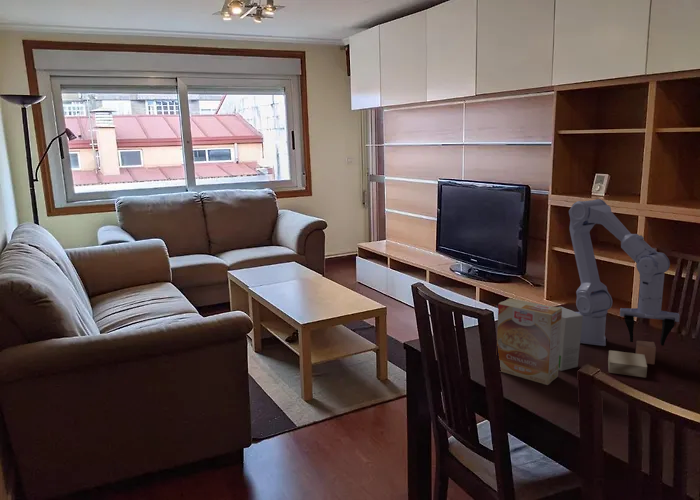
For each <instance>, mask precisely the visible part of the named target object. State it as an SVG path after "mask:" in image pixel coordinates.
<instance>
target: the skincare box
mask: <svg viewBox="0 0 700 500" xmlns="http://www.w3.org/2000/svg"><path fill="white" fill-rule="evenodd" d="M556 307H557V308H562V317H561V334H560V351H559V368H558V371H561V372H563V371H565V370H566V371H567V370H570V369H574V368H578V367H579V356H580V347H581V343H580V339H581V329H582V320H583V315H581V314H578V313H576V312H577V311H574V310H571V309H568V308H565V307H564V306H556Z"/></svg>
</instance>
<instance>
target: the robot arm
mask: <svg viewBox="0 0 700 500" xmlns="http://www.w3.org/2000/svg"><path fill="white" fill-rule="evenodd" d="M568 215H569V220H570V221H569V227H568V228H569V233H570V234H569V235H570V238H571V239H570V240H571V244H572V249H573V253H574V257H575V258H574V259H575V262H576V267H577V272H578V275H579V280H580V286H579V287H577V290H576V291H575V294H576V301H575V305H576V309H577V311H575V312H576V313H578V314H581V315H583V320H582V329H581V339H580V344H584V345H591V346H592V345H593V346H599V347H600V346H601V347H605V346H607V340H606V335H605V333H606V321H607V314H608V311H609V310H610V309H611V308H612V306H613V298H612V295H611V294H610V292H609V291H608V287H607V285H606V284H604V283H603V282H601V280H600V279H601V278H600V275H599V270H598V265H597V261H596V256H595V252H594V247H593V243H592V239H591V234H590V232H591V230H592V229H593V228H594V226H595V225H602V227H604V228H605V229H606V230H607V231H608V232H609V233H610V234H612V235H613V236H614V237H615V238H616V239H617V240H619V241H620V248H621V249H622V251H624V252H625V253H626V254H627V256H628V257H630V259H631V260H632V261H633V262H634V263H635V264H636V265H635V266H636V270H637V271H638V274H639V292H638V303H637V305H638V306H637V308H628V307H627V308H626V307H625V308H622V307H620V309H619V317H623V319H624V323H625V324H626V326H627V327H626V328H627V330H628V334H629V342H630V343H634V327H635V318H642V319H649V320H651V319H652V320H661V321H662V322H661V324H662V326H661V333H660V335H661V336H660V340H659V341H660V343H659V344H660V346H665V342H666V340H667V337H668V335H670V332H671V331H672V330H673V328H674V327H675V324H676V322H677V323H679V322H680V313H679V312H672V311H671V312H670V311H666V310H662V305H663V304H662V303H663V292H664V283H665V273H666V272H668V271H669V270H670V268H671V267H670V266H671V262H670V259H669V258H668V256H667V255H666V254H665V253H664V252H661V251H660V252H658V251H657V249H655V248H653V247H651V245H649V243H647V241H645V237H644V236H643V235H639V234H638V233H631V232H630V230H628V229H627V227H626V226H625V225H624V224H623V223H622V222H621V221H620V219H619V218H618V217H617V216H616V215H615V214H614V213H613V212H612V206H610V205H608V204H607V203H606V202H605V200H603V199H601V198H600V199H599V198H598V199H591V200H584V201H583V200H578V201H576V202H574V203H573V204H572V206H571V207H570V209H569V210H568Z"/></svg>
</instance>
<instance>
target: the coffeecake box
mask: <svg viewBox="0 0 700 500" xmlns="http://www.w3.org/2000/svg"><path fill="white" fill-rule="evenodd" d="M497 305H498V307H497V308H498V310H497V311H498V312H497V329H496V330H497V333H496V334H497V335H496V347H497V346H498V353H499V360H500V367H501V371H500V372H502V373H504V374H508V375H510V376H511V375H512V376H515V377H518V378H521V379H525V380H529V381H532V382H535V383H539V384H541V385H545V386H548V385H550V384H551V383H552V382H553V381H554V380H556V379H557V378H559V369H558V368H559V351H560V334H561V317H562V308H557V307H558V306H552V305H546V304H541V303H536V302H533V301H532V302H531V301H527V300H526V301H525V300H520V299H516V298H511V297H509V298H507V299H506V300H504V301H500V302H499V303H498V304H497Z"/></svg>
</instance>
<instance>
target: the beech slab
mask: <svg viewBox="0 0 700 500" xmlns="http://www.w3.org/2000/svg"><path fill="white" fill-rule="evenodd" d="M607 357H608V358H607V359H608V360H607V364H608V366H607V367H608V373H610V374H616V375H617V374H618V375H624V376H625V375H626V376H630V377H631V376H632V377H638V378H647V374H648V373H647V372H648V364H646V359H645V355H644V354H636V352H635V353H634V352H626V351H625V352H624V351H619V350H611V349H610V350H608V356H607Z"/></svg>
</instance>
